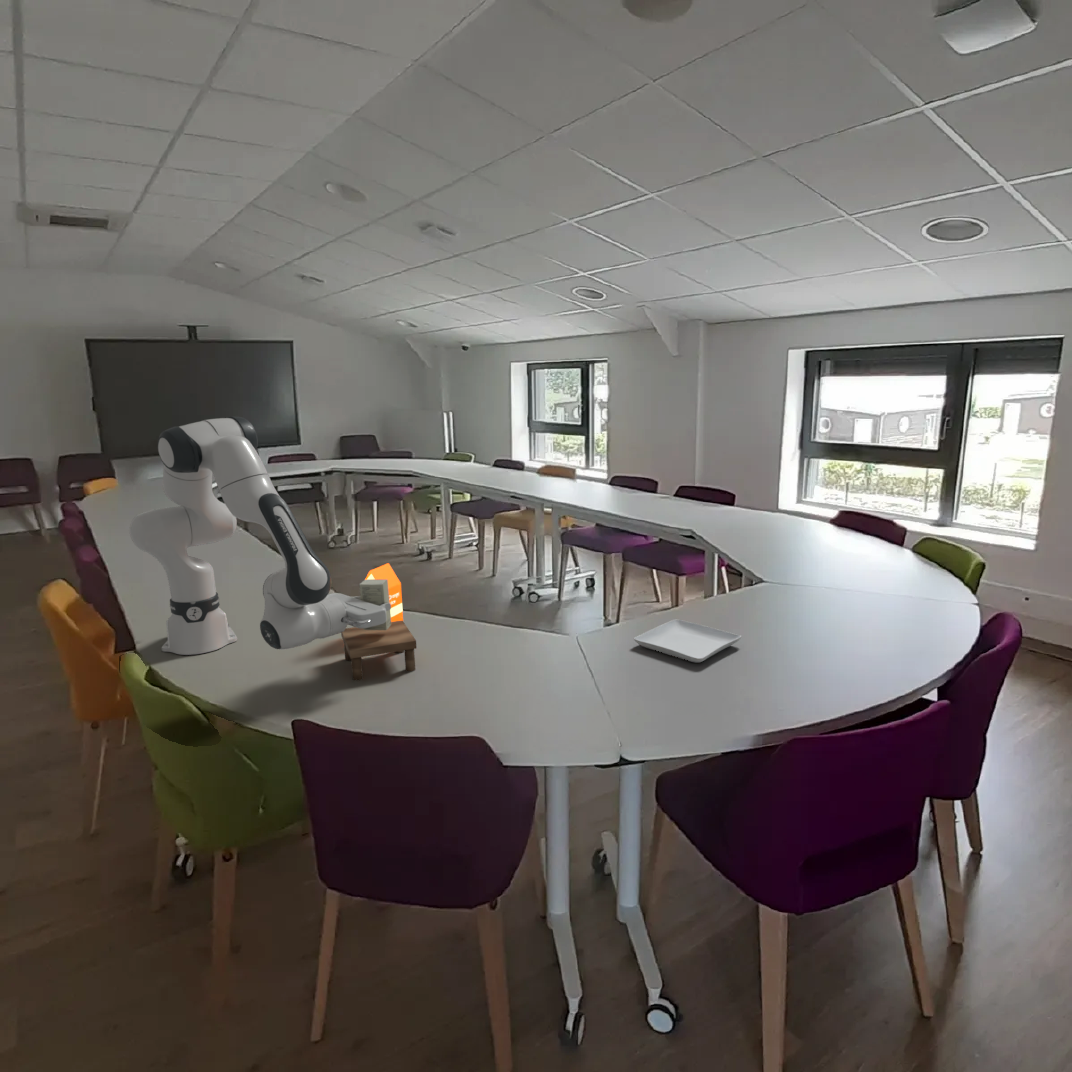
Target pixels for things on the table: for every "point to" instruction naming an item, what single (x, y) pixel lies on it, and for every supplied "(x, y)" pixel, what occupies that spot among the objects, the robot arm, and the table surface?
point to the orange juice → (390, 589)
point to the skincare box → (376, 597)
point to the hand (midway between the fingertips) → (378, 602)
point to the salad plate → (687, 640)
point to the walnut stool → (378, 645)
